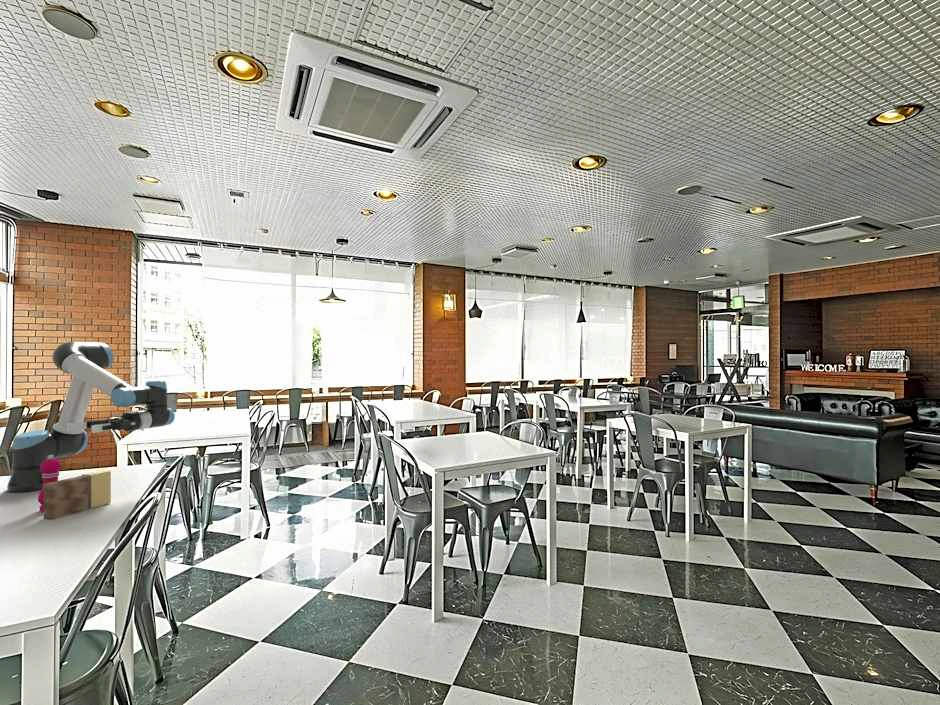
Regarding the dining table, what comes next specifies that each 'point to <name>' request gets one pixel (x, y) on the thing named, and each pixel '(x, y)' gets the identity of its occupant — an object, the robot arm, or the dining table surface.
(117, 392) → the robot arm
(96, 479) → the stub
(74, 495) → the block
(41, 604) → the dining table surface
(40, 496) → the pepper mill
